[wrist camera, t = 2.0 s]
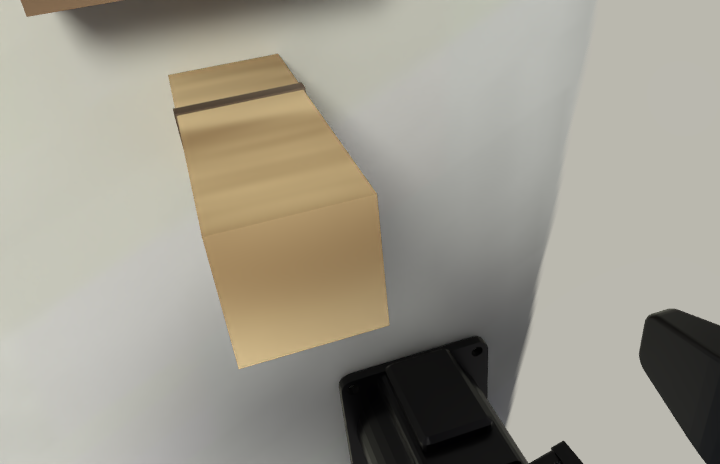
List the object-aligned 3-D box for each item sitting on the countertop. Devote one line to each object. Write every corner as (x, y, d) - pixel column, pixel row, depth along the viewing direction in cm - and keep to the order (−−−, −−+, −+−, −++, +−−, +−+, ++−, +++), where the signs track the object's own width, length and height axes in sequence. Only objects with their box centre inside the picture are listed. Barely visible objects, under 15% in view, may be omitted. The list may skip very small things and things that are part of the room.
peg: (296, 152, 21) (391, 326, 14) (193, 175, 20) (236, 371, 13) (279, 51, 19) (379, 190, 12) (166, 73, 19) (198, 235, 11)
